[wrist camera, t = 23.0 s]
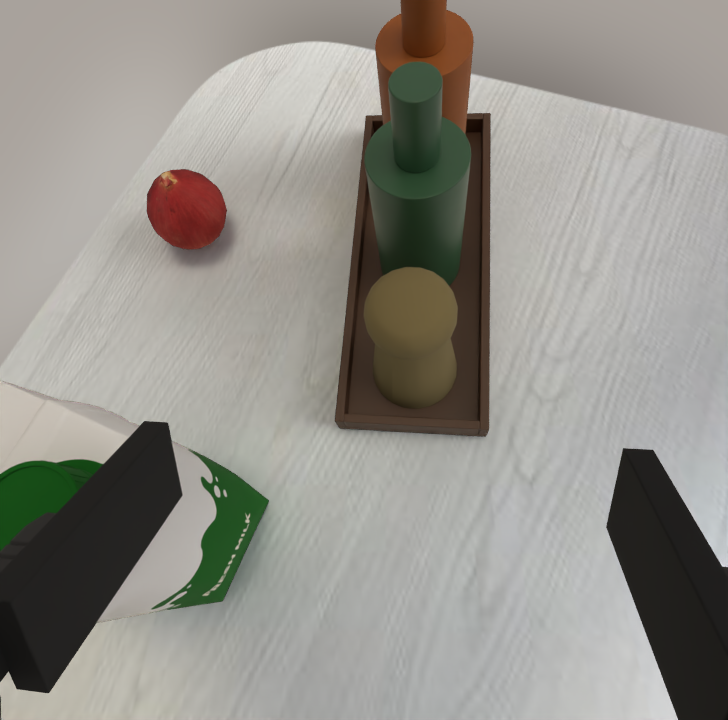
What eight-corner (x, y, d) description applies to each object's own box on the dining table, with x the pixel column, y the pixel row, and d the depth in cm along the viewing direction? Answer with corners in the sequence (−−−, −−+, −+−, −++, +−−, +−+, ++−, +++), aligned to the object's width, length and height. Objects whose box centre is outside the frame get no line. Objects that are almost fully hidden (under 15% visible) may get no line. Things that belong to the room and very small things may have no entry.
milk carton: (228, 621, 35) (1, 691, 16) (114, 562, 37) (-202, 565, 18) (287, 492, 37) (147, 426, 19) (177, 444, 40) (-47, 340, 21)
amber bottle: (462, 142, 45) (481, -84, 29) (461, 202, 43) (480, -5, 27) (390, 143, 46) (371, -77, 30) (386, 202, 44) (362, 1, 28)
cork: (418, 313, 40) (415, 229, 30) (475, 371, 38) (492, 302, 28) (355, 364, 40) (329, 295, 29) (409, 426, 37) (402, 375, 27)
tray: (487, 131, 46) (490, 112, 44) (486, 436, 37) (489, 429, 35) (368, 133, 47) (365, 115, 45) (339, 428, 39) (334, 421, 37)
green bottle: (460, 229, 42) (479, 32, 27) (458, 299, 40) (478, 130, 25) (383, 229, 43) (358, 37, 27) (378, 297, 41) (347, 132, 25)
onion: (160, 256, 45) (107, 196, 38) (191, 200, 47) (146, 133, 40) (220, 275, 44) (178, 217, 37) (250, 217, 46) (215, 150, 38)
